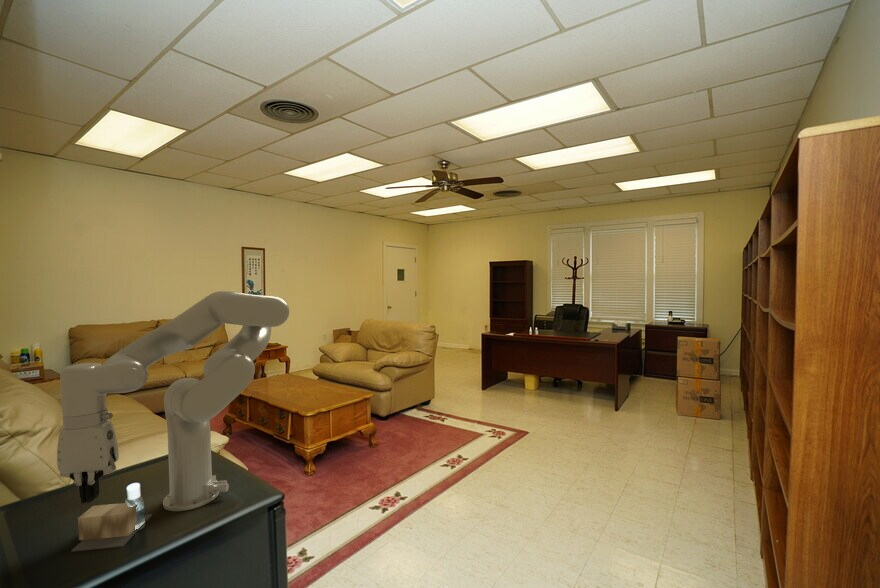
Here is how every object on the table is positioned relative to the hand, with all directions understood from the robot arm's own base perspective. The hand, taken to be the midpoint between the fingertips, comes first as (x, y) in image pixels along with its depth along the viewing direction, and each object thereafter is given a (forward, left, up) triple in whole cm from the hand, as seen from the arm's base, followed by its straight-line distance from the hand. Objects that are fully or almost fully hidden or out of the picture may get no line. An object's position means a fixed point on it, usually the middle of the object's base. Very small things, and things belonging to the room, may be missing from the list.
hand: (90, 499), depth 94 cm
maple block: (+1, 0, -5) cm, 5 cm away
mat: (-5, 0, -8) cm, 9 cm away
